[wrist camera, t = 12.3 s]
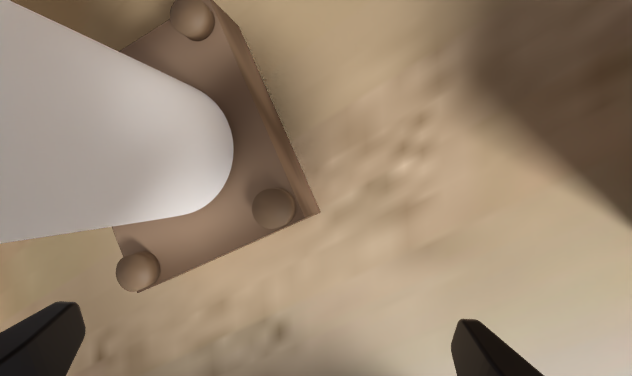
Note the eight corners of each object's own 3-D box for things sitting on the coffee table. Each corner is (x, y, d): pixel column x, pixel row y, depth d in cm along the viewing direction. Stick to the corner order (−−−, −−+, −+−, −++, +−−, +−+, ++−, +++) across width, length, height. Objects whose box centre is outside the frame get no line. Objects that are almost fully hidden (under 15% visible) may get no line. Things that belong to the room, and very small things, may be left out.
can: (251, 101, 17) (-75, -83, 5) (220, 230, 17) (-144, 331, 6) (139, 76, 18) (-324, -117, 6) (113, 196, 19) (-363, 219, 7)
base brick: (320, 212, 20) (299, 220, 15) (177, 275, 22) (122, 299, 17) (238, 26, 21) (196, -17, 16) (108, 104, 23) (40, 85, 18)
